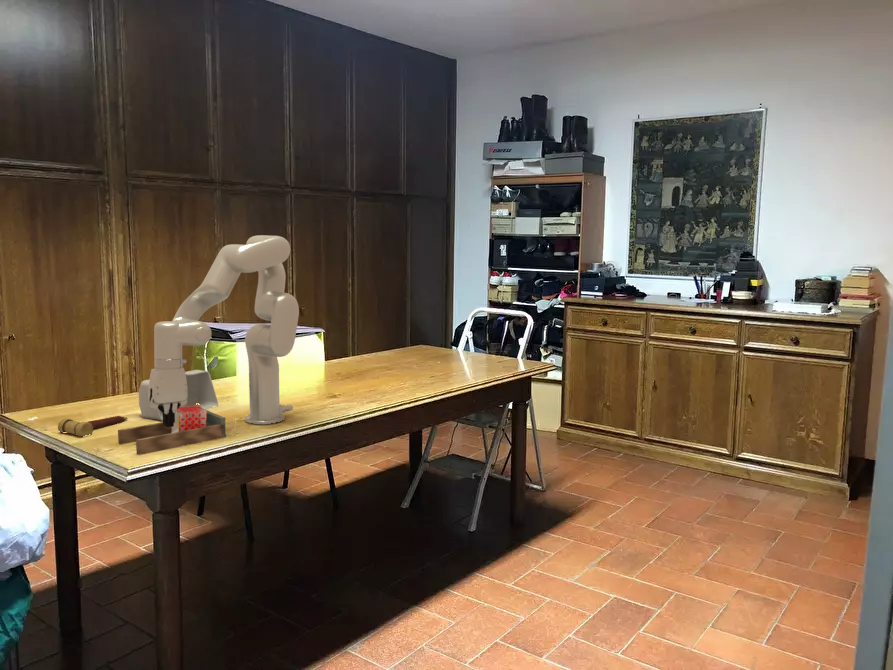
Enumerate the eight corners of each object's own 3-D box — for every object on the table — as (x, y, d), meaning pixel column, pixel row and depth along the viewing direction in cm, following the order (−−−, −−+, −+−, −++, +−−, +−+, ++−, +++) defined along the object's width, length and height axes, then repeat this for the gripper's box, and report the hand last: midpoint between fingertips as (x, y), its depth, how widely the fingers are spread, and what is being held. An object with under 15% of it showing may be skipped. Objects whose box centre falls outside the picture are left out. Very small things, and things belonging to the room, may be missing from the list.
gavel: (116, 409, 236) (138, 413, 231) (116, 423, 236) (138, 427, 232) (57, 419, 217) (79, 423, 213) (57, 434, 217) (79, 439, 213)
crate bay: (203, 427, 226) (202, 408, 226) (225, 437, 216) (225, 417, 215) (118, 443, 208) (117, 423, 208) (138, 454, 198) (137, 433, 197)
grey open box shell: (186, 401, 262) (185, 367, 260) (219, 406, 254) (218, 371, 252) (127, 415, 240) (126, 379, 238) (161, 422, 232) (159, 384, 231)
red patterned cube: (171, 432, 218) (172, 407, 217) (197, 431, 222) (199, 406, 221) (178, 439, 211) (179, 412, 210) (205, 437, 216) (206, 411, 215)
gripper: (187, 360, 217) (187, 420, 219) (137, 364, 206) (137, 427, 208) (198, 363, 211) (198, 425, 213) (147, 368, 201) (148, 432, 203)
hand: (168, 425), depth 211 cm, fingers closed
